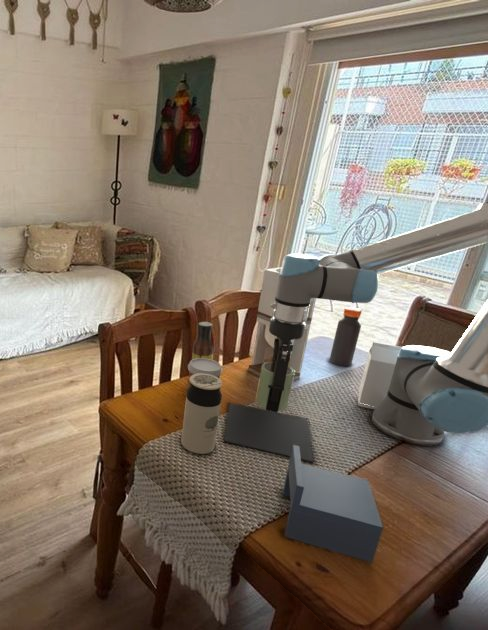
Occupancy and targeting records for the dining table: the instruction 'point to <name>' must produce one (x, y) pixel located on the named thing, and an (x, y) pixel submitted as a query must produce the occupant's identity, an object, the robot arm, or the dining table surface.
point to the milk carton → (377, 374)
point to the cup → (266, 380)
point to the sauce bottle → (203, 342)
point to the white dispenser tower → (264, 337)
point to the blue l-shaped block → (331, 510)
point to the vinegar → (346, 337)
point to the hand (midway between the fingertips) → (271, 402)
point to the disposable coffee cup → (204, 367)
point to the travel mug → (201, 413)
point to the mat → (268, 431)
